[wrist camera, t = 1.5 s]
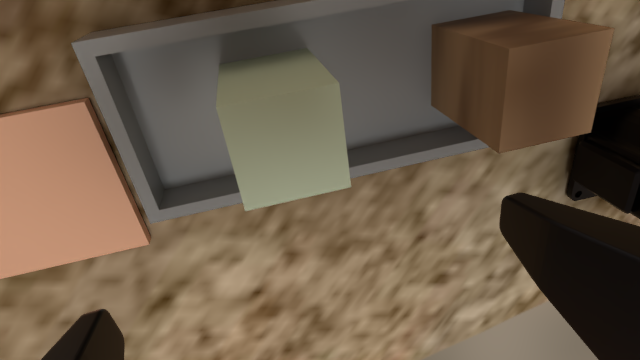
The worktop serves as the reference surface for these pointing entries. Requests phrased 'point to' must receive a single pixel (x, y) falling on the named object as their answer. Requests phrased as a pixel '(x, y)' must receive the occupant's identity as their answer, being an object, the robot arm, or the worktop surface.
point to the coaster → (61, 190)
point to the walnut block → (518, 76)
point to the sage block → (282, 127)
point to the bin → (261, 40)
